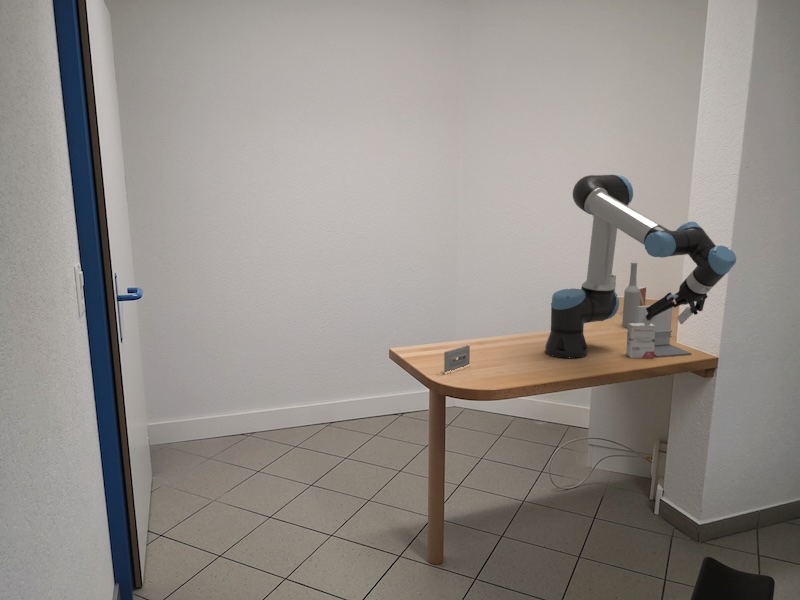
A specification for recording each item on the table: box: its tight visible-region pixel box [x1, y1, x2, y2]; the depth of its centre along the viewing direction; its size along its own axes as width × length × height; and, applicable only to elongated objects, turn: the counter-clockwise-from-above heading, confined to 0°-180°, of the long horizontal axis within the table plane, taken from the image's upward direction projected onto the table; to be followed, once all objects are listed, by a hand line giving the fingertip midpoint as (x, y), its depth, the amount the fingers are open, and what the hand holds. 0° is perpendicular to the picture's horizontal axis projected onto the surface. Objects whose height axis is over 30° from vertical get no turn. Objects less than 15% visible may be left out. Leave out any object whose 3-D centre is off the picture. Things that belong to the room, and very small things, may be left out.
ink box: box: [626, 323, 656, 359], centre depth 213 cm, size 9×5×12 cm, turn 85°
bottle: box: [621, 262, 640, 329], centre depth 254 cm, size 7×7×28 cm
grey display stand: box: [636, 305, 692, 358], centre depth 220 cm, size 14×18×16 cm
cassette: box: [443, 344, 471, 372], centre depth 201 cm, size 12×2×8 cm, turn 133°
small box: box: [637, 285, 647, 306], centre depth 279 cm, size 8×6×13 cm
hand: (662, 322), depth 202 cm, fingers open, 13 cm apart
